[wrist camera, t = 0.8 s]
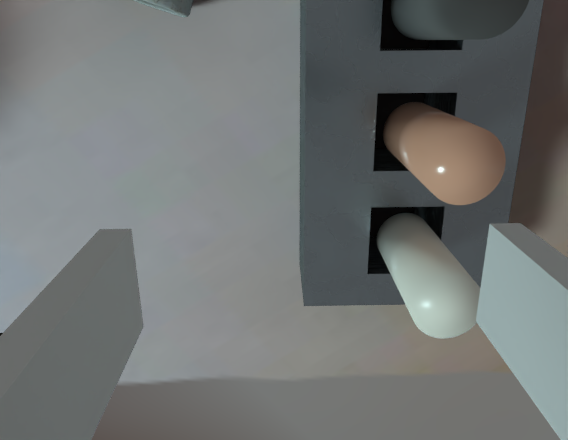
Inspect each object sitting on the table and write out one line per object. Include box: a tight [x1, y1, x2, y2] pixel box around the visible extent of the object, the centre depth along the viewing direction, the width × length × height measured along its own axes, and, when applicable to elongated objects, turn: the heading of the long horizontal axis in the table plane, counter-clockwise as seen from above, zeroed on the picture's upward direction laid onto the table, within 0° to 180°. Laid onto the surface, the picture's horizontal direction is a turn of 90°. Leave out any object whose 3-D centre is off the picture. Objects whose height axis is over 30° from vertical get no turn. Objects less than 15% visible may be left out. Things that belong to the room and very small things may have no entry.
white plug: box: [377, 213, 480, 338], centre depth 30 cm, size 4×4×10 cm
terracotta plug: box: [383, 102, 506, 205], centre depth 27 cm, size 4×4×10 cm
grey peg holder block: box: [300, 0, 544, 306], centre depth 35 cm, size 14×25×7 cm, turn 0°
